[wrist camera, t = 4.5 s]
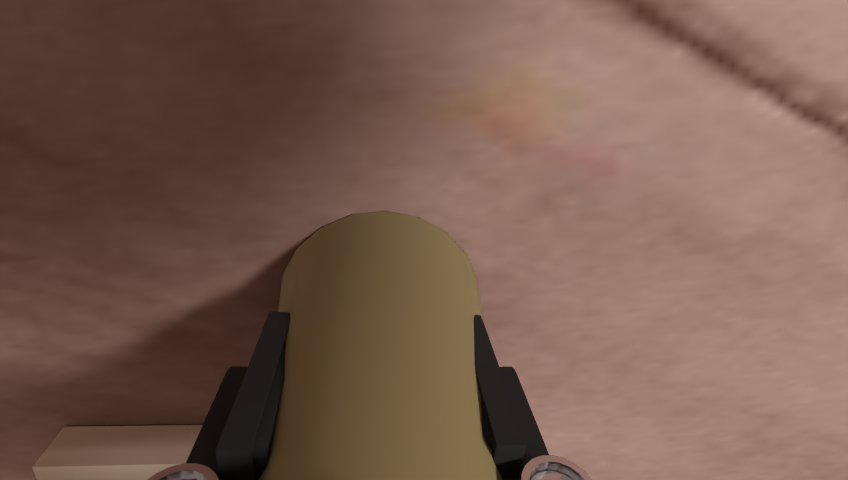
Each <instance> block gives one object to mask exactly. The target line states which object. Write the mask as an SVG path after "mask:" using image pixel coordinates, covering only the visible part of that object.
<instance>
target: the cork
mask: <svg viewBox="0 0 848 480" xmlns="http://www.w3.org/2000/svg"><path fill="white" fill-rule="evenodd" d="M278 312H289V313H290V317H291V318H290V322H289V327H288V331H287V336H286V345H285V380H284V384H283V389H282V393H281V398H280V403H279V408H278V413H277V418H276V423H275V429H274V434H273V439H272V444H271V449H270V455H269V460H268V465H267V467H266V469H265V470H264V472H263V473H262V475H261V477H260V478H259V480H502V477H501V475H500V473H499V471H498V469H497V467H496V465H495V463H494V461H493V455H492V451H491V449H490V448H489V446H488V445H487V443H486V441H485V439H484V436H483V432H482V414H481V393H480V390H479V385H478V380H477V375H476V370H475V357H474V315H480V316H481V318H482V311H481V303H480V296H479V288H478V281H477V277H476V275H475V272H474V270H473V268H472V265H471V263H470V260H469V258H468V256H467V254H466V252H465V251H464V250H463V249H462V248H461V247H460V246H459V245H458V244H457V243H456V242H455V241H454V240H453V239H452V238H451V236H450V235H449V234H448V233H447V232H445V231H443V230H441V229H440V228H438V227H436V226H434V225H432V224H430V223H428V222H427V221H425V220H423V219H421V218H419V217H415V216H409V215H404V214H399V213H394V212H388V211H380V212H371V213H361V214H352V215H349V216H347V217H344V218H342V219H340V220H337V221H335V222H333V223H330V224H328V225H326V226H323V227H321V228H320V229H318V230H317V231H316V232H315V233H314V234H313V235H312V236H310V237H309V238H308V239H307V240H306V241H305V242H304V243H302V244H301V245H300V246H299V247H298V248H297V249H296V251H295V253H294V255H293V256H292V258H291V260H290V262H289V264H288V266H287V267H286V269H285V271H284V273H283V276H282V284H281V292H280V300H279V308H278ZM482 320H483V318H482Z"/></svg>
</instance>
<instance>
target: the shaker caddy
mask: <svg viewBox="0 0 848 480" xmlns="http://www.w3.org/2000/svg"><path fill="white" fill-rule="evenodd" d="M202 426H203V425H155V426H78V427H63V428H62V430H61V431H60V432H59V433H58V435H57V436H56V437H55V438H54V440H53V441H52V442H51V443H50V445H49V446H48V447H47V448H46V450H45V451H44V452H43V453H42V455H41V456H40V457H39V458H38V460H37V461H36V462H35V463H34V465H33V466H32V469H33V472H34V474H35V477H36V479H37V480H148V479H149V478H150V477H152V476H153V475H154V474H156V473H158V472H160V471H162V470H164V469H166V468H168V467H171V466H175V465H179V464H183V463H186V461H187V459H188V457H189V455H190V452H191V450H192V448H193V446H194V443H195V441H196V439H197V437H198V435H199V432H200V430H201V428H202Z"/></svg>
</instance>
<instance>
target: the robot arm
mask: <svg viewBox="0 0 848 480" xmlns="http://www.w3.org/2000/svg"><path fill="white" fill-rule="evenodd" d="M290 318H291V317H290V313H289V312H270V313H269V315H268V317H267V320H266V323H265V325H264V328H263V330H262V333H261V335H260V338H259V340H258V343H257V346H256V348H255V351H254V353H253V356H252V358H251V361H250V363H249V366H248V367H230V368H229V369H228V371H227V372H226V374H225V377H224V379H223V381H222V383H221V386H220V388H219V390H218V392H217V394H216V397H215V399H214V401H213V403H212V406H211V408H210V410H209V412H208V415H207V417H206V419H205V421H204V423H203V426H202V428H201V430H200V432H199V435H198V437H197V439H196V441H195V443H194V446H193V448H192V450H191V452H190V455H189V457H188V459H187V461H186V463H183V464H179V465H175V466H171V467H168V468H166V469H164V470H162V471H160V472H158V473H156V474H154V475H153V476H152V477H150V478H149V479H148V480H259V478H260V477H261V475H262V473H263V472H264V470H265V469H266V467H267V465H268V460H269V455H270V449H271V444H272V439H273V434H274V429H275V423H276V418H277V413H278V408H279V403H280V398H281V393H282V389H283V384H284V380H285V345H286V336H287V331H288V327H289V322H290ZM474 357H475V370H476V375H477V380H478V385H479V390H480V393H481V414H482V432H483V436H484V439H485V441H486V443H487V445H488V446H489V448H490V449H491V451H492V455H493V461H494V463H495V465H496V467H497V469H498V471H499V473H500V475H501V477H502V480H592V479H591V477H590V476H589V475H588V474H587V473H586V471H584V470H583V469H582V468H581V467H579V466H578V465H577V464H575V463H573V462H571V461H569V460H567V459H565V458H562V457H558V456H554V455H549V454H548V451H547V449H546V446H545V444H544V441H543V439H542V436H541V434H540V431H539V429H538V426H537V424H536V421H535V419H534V416H533V414H532V411H531V409H530V406H529V404H528V401H527V399H526V396H525V394H524V391H523V389H522V386H521V384H520V381H519V379H518V376H517V374H516V372H515V370H514V368H512V367H499V365H498V362H497V360H496V357H495V354H494V351H493V348H492V346H491V343H490V340H489V337H488V334H487V331H486V329H485V326H484V323H483V320H482V318H481V316H480V315H474Z"/></svg>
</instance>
